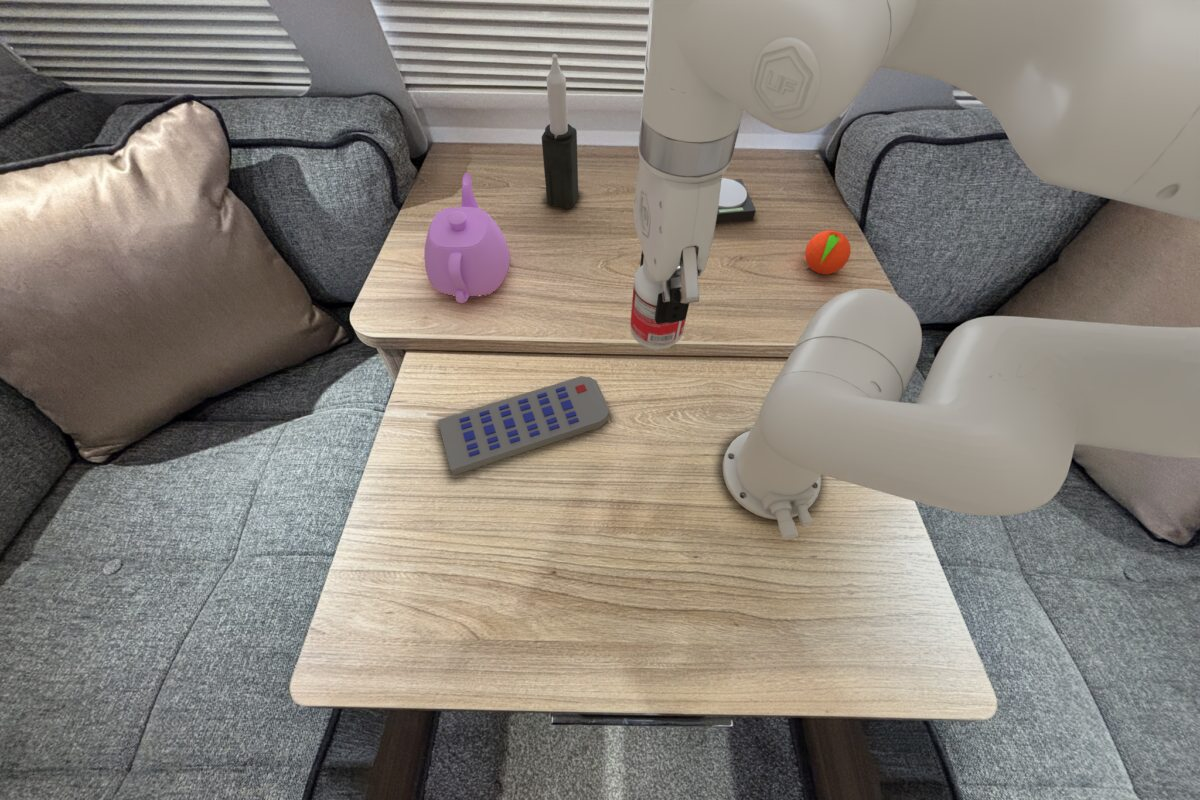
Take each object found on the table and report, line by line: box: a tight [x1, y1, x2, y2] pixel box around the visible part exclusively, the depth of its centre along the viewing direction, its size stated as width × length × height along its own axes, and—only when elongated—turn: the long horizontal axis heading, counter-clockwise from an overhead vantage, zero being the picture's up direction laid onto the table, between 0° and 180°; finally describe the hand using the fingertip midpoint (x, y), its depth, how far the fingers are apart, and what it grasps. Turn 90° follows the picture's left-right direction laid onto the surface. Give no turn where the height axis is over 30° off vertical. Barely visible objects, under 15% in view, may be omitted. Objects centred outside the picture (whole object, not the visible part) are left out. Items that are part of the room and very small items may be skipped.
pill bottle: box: [629, 257, 689, 350], centre depth 57 cm, size 6×6×11 cm
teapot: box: [423, 172, 511, 304], centre depth 84 cm, size 20×13×12 cm, turn 1°
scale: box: [715, 177, 757, 225], centre depth 97 cm, size 9×9×3 cm
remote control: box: [437, 375, 611, 476], centre depth 73 cm, size 8×23×2 cm, turn 111°
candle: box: [541, 53, 579, 210], centre depth 88 cm, size 5×5×25 cm
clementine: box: [804, 230, 852, 275], centre depth 87 cm, size 8×7×7 cm
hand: (661, 294), depth 57 cm, fingers closed on pill bottle, 6 cm apart
